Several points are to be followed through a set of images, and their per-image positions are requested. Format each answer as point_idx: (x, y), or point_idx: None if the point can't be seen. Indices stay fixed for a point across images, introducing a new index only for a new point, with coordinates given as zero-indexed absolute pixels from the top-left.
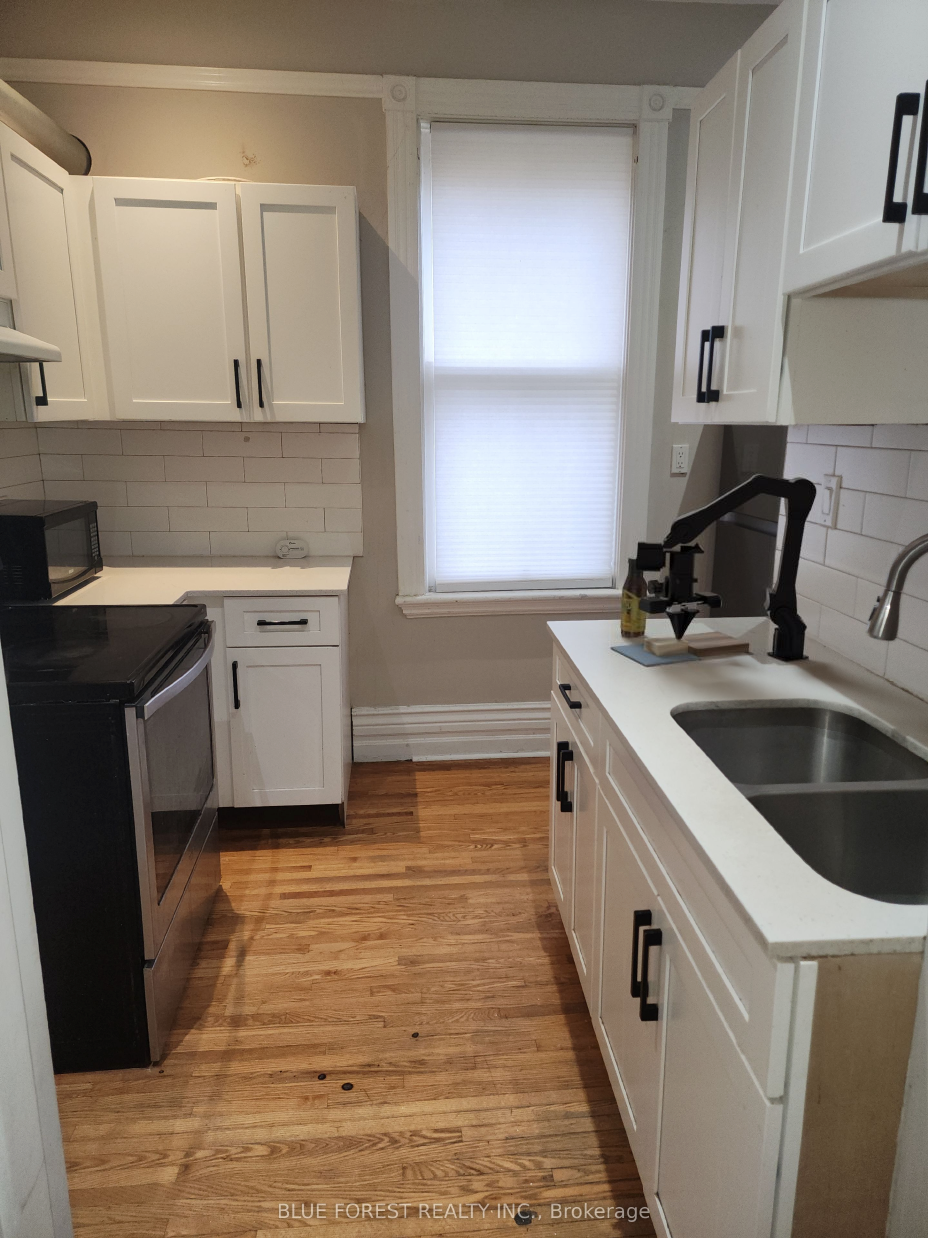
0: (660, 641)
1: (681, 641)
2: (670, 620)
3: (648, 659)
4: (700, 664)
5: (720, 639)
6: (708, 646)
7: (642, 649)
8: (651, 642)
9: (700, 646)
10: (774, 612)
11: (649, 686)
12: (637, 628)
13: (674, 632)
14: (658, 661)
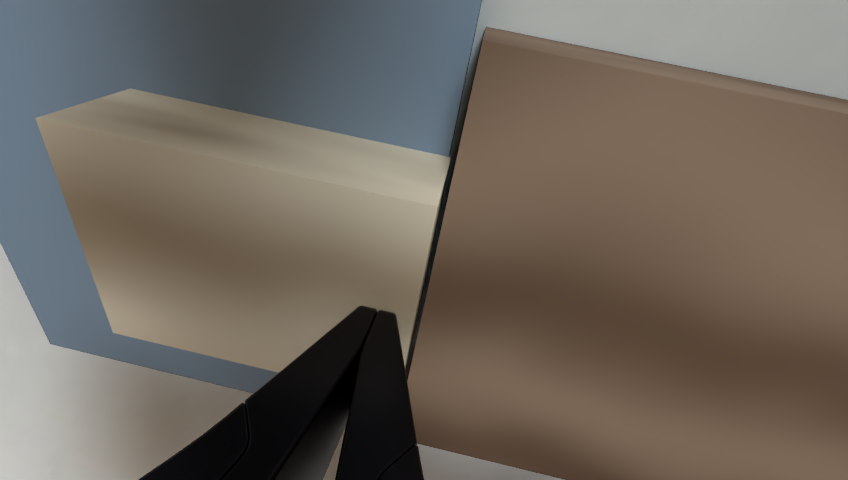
0: (178, 274)
1: None
2: (171, 470)
3: (89, 294)
4: (341, 442)
5: (808, 416)
6: (513, 448)
7: (120, 82)
8: (84, 252)
9: (465, 423)
10: None
11: (23, 457)
12: None
13: (317, 347)
14: (136, 343)
